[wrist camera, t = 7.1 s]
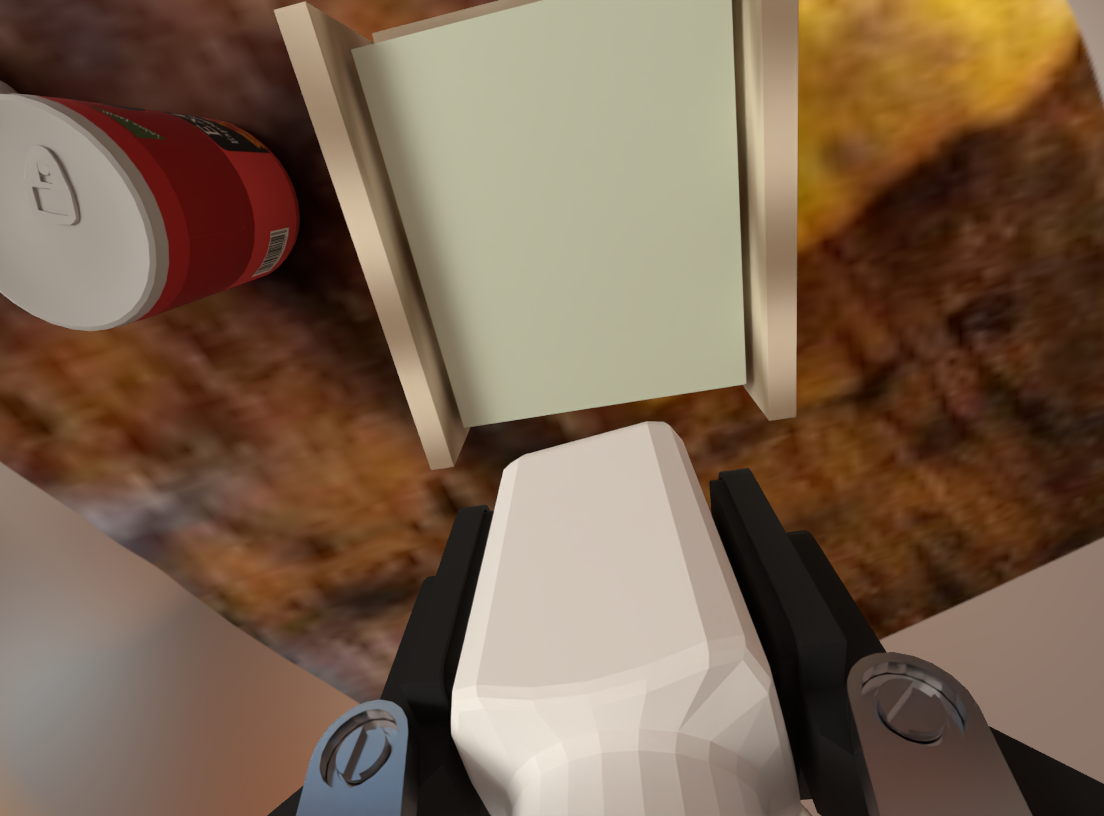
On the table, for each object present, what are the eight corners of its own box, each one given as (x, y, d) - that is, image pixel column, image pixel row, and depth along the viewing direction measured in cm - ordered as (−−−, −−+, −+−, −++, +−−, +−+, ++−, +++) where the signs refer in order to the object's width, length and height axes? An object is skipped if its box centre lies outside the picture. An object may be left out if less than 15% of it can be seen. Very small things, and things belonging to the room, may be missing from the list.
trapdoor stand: (387, 43, 24) (256, -42, 14) (702, -38, 23) (799, -198, 13) (482, 391, 32) (439, 493, 22) (724, 352, 30) (796, 443, 20)
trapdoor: (373, 60, 18) (350, 49, 17) (713, -26, 17) (729, -48, 15) (472, 408, 24) (464, 427, 22) (732, 366, 23) (746, 384, 21)
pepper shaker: (496, 451, 12) (276, 1266, 3) (671, 402, 11) (1021, 1288, 2) (553, 579, 13) (512, 1351, 5) (708, 544, 12) (998, 1377, 4)
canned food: (279, 111, 26) (93, 77, 16) (322, 272, 29) (191, 326, 19) (138, 127, 27) (-125, 103, 17) (196, 282, 30) (7, 340, 20)
